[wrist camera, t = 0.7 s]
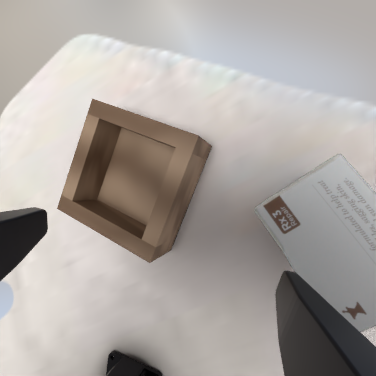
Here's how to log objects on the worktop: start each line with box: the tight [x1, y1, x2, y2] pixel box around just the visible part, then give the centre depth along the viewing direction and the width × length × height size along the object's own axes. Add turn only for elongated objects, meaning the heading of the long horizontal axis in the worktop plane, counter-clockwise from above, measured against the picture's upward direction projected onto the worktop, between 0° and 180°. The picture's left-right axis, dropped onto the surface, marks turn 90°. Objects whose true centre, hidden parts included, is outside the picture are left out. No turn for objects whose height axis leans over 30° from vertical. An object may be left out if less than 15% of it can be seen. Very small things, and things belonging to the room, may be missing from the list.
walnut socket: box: [57, 99, 212, 263], centre depth 23 cm, size 12×12×4 cm
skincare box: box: [255, 154, 376, 332], centre depth 14 cm, size 6×4×12 cm
